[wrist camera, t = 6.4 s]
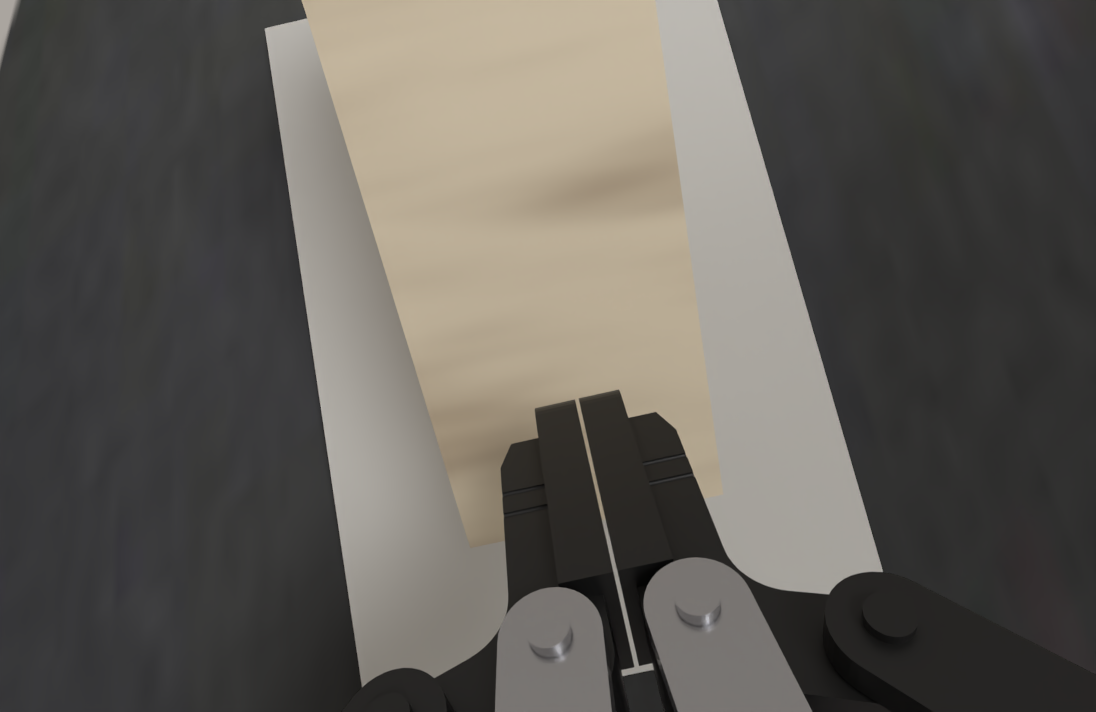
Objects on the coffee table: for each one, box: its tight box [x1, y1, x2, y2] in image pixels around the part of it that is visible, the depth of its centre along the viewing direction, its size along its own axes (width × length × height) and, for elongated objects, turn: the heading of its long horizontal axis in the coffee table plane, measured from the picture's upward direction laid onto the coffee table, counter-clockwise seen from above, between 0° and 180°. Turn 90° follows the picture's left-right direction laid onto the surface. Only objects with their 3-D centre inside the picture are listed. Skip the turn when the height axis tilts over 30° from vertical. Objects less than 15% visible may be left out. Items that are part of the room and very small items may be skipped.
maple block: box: [302, 0, 723, 548], centre depth 15 cm, size 6×6×16 cm
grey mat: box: [265, 0, 883, 687], centre depth 22 cm, size 24×16×1 cm, turn 12°
